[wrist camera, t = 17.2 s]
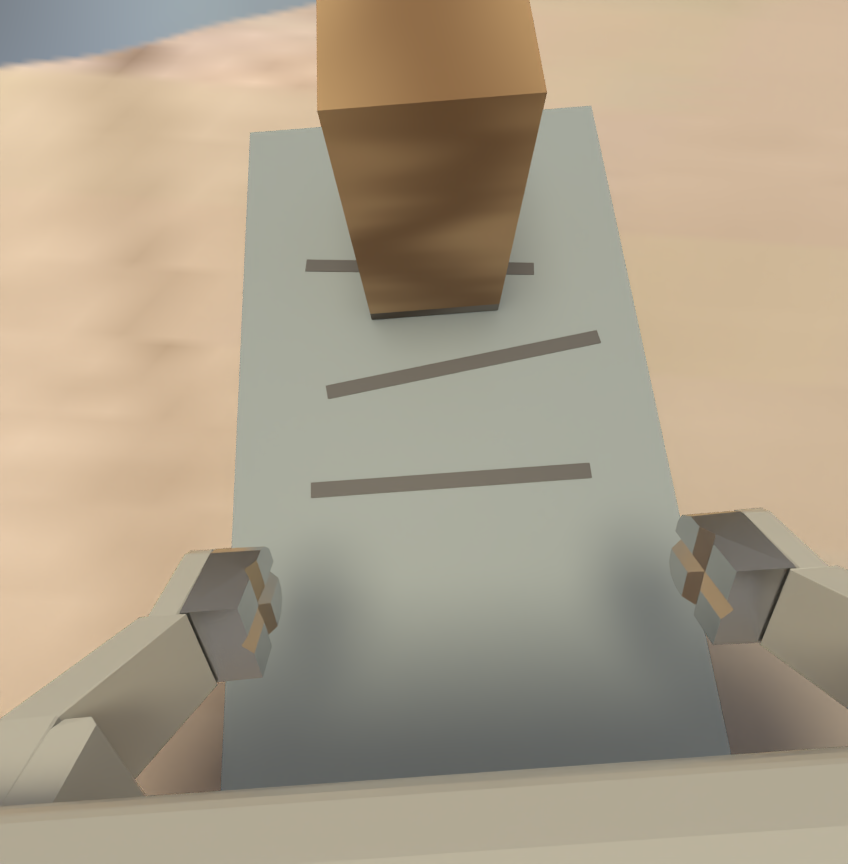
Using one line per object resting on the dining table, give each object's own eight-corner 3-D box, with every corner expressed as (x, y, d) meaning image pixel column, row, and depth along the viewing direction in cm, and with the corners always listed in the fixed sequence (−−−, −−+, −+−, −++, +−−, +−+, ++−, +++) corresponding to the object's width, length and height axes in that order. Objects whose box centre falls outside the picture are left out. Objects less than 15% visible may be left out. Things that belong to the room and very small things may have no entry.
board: (241, 802, 14) (218, 828, 13) (262, 162, 21) (249, 132, 20) (709, 771, 14) (740, 794, 13) (580, 137, 21) (591, 105, 20)
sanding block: (371, 319, 17) (317, 110, 9) (365, 184, 19) (316, -87, 11) (497, 310, 17) (546, 92, 9) (480, 174, 19) (509, -103, 11)
